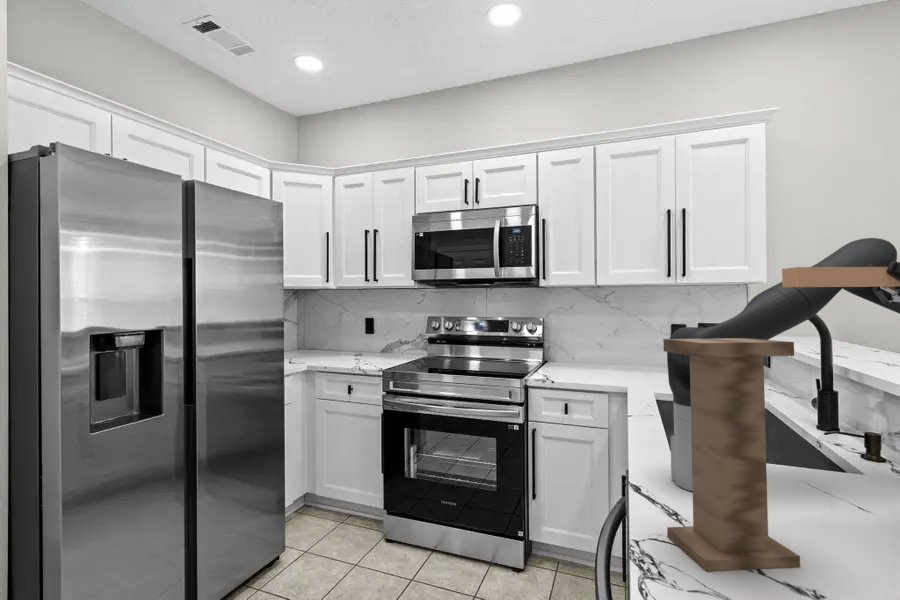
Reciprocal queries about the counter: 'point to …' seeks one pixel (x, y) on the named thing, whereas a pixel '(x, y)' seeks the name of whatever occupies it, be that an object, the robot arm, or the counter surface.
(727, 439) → the wooden pedestal column
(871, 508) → the counter surface
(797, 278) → the bar
